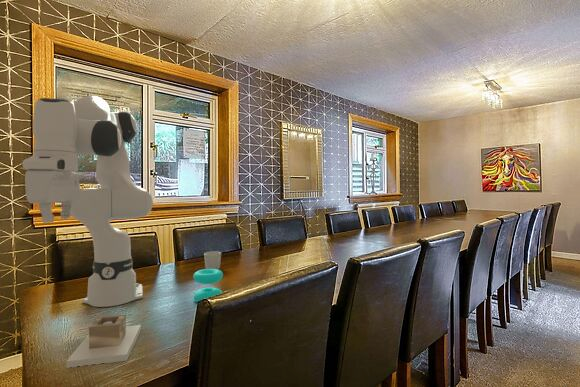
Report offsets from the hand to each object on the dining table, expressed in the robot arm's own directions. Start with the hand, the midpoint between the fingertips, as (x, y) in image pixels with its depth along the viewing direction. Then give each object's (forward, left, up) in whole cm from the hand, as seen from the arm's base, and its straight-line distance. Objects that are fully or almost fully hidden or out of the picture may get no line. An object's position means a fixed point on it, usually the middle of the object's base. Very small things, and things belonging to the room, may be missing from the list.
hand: (57, 220), depth 80 cm
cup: (-67, +38, -31) cm, 83 cm away
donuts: (-24, +36, -31) cm, 53 cm away
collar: (+4, +12, -30) cm, 32 cm away
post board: (+4, +12, -31) cm, 34 cm away
